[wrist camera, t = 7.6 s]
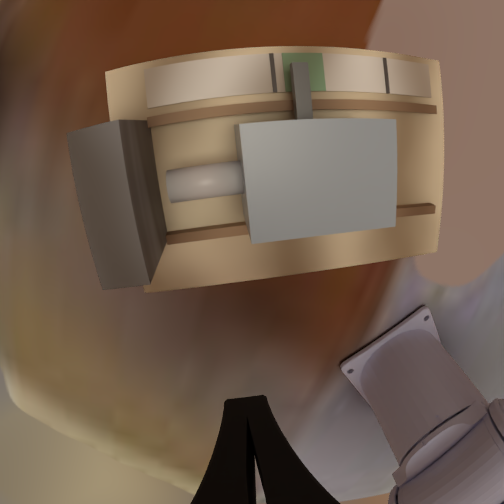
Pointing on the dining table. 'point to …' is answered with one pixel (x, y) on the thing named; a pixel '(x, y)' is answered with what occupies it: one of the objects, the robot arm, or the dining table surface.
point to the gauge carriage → (303, 173)
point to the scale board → (224, 150)
